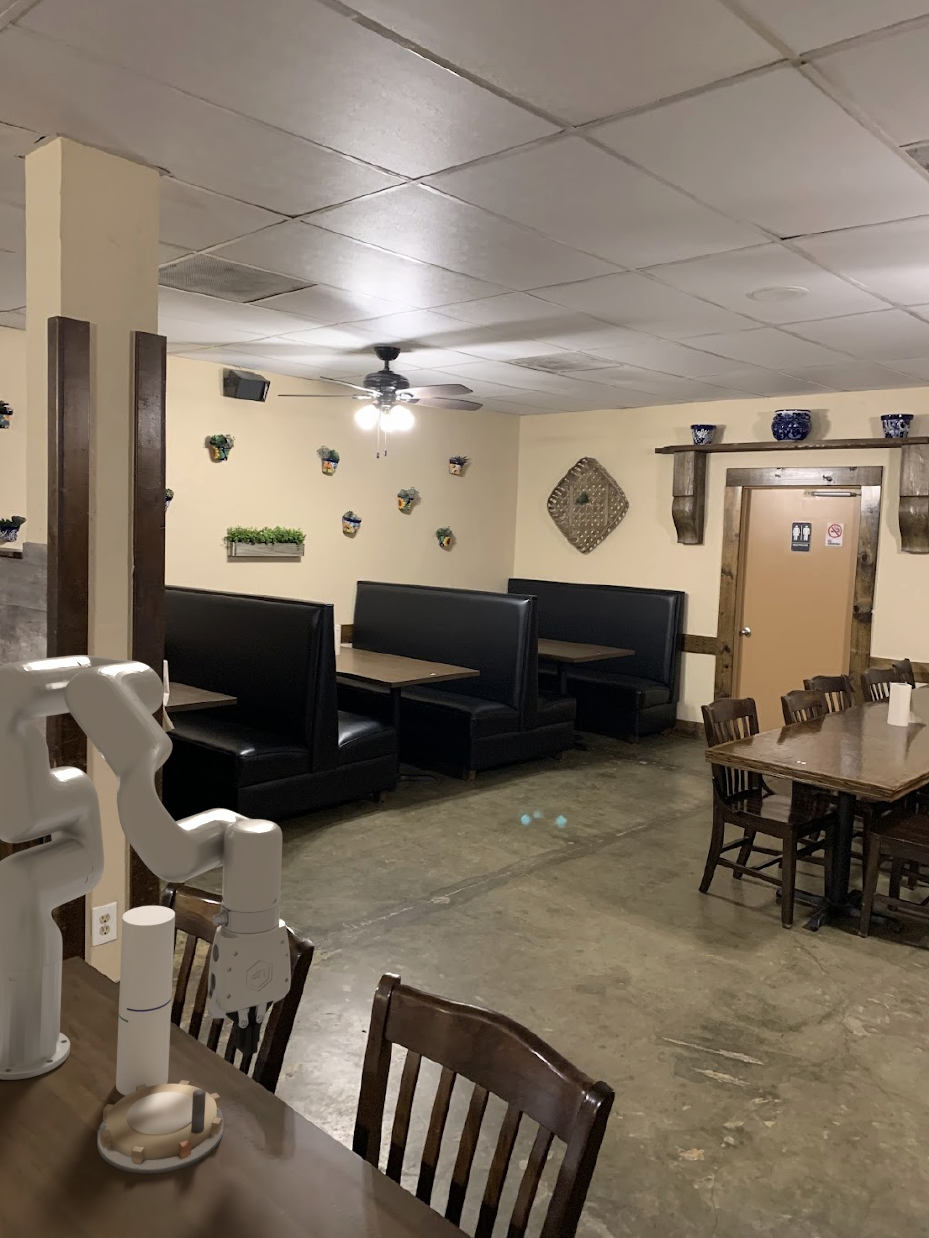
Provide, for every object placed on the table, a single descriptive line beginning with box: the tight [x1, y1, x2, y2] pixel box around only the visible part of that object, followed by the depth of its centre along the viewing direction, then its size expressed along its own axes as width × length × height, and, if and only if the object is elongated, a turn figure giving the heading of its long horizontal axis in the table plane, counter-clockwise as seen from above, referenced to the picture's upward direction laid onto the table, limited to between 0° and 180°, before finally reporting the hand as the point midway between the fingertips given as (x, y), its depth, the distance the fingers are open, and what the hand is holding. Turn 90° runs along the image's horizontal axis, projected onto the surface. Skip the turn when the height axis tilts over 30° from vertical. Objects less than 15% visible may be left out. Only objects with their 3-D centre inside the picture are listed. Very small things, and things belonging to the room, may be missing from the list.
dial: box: [100, 1079, 222, 1163], centre depth 125 cm, size 15×15×6 cm
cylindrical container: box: [115, 905, 176, 1096], centre depth 136 cm, size 7×7×25 cm
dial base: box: [96, 1107, 225, 1175], centre depth 126 cm, size 16×16×1 cm
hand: (246, 1049), depth 126 cm, fingers closed
